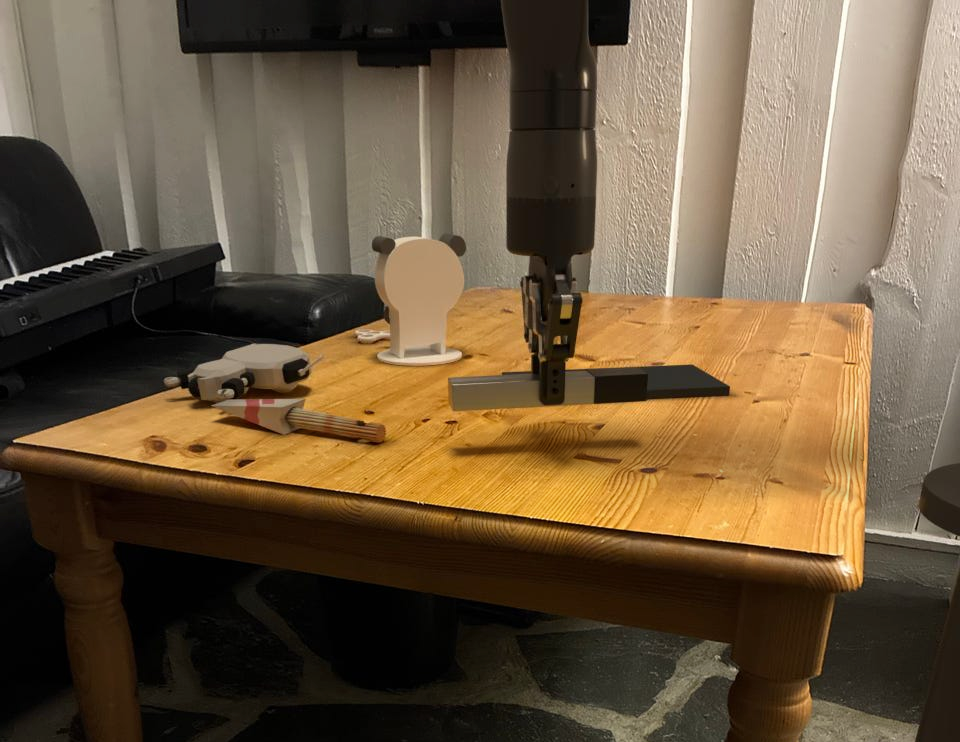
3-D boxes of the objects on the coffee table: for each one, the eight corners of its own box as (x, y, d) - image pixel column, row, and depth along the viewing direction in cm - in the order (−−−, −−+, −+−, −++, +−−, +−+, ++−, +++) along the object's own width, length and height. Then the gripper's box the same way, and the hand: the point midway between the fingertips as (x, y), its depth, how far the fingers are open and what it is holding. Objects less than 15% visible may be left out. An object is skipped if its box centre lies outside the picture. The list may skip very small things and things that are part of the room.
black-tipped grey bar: (635, 393, 89) (637, 366, 88) (646, 401, 86) (648, 373, 85) (448, 403, 86) (447, 376, 85) (453, 412, 84) (452, 383, 83)
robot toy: (231, 424, 99) (333, 387, 109) (223, 381, 97) (327, 348, 107) (161, 407, 106) (263, 373, 116) (152, 366, 104) (257, 336, 113)
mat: (691, 372, 116) (692, 364, 116) (729, 395, 106) (730, 386, 105) (501, 380, 113) (501, 372, 113) (521, 404, 103) (521, 395, 102)
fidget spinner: (354, 334, 140) (353, 329, 139) (396, 332, 141) (396, 327, 141) (358, 343, 134) (358, 337, 133) (403, 341, 135) (402, 335, 135)
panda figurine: (446, 345, 133) (443, 230, 126) (480, 360, 124) (479, 236, 117) (365, 353, 128) (358, 234, 121) (395, 368, 119) (389, 241, 112)
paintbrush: (231, 384, 98) (391, 415, 90) (233, 410, 100) (391, 443, 92) (205, 391, 95) (368, 424, 87) (208, 418, 97) (369, 453, 89)
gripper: (619, 194, 73) (608, 416, 81) (574, 188, 85) (568, 381, 93) (524, 196, 72) (522, 421, 80) (492, 189, 84) (494, 384, 92)
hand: (547, 398), depth 86 cm, fingers closed on black-tipped grey bar, 3 cm apart
